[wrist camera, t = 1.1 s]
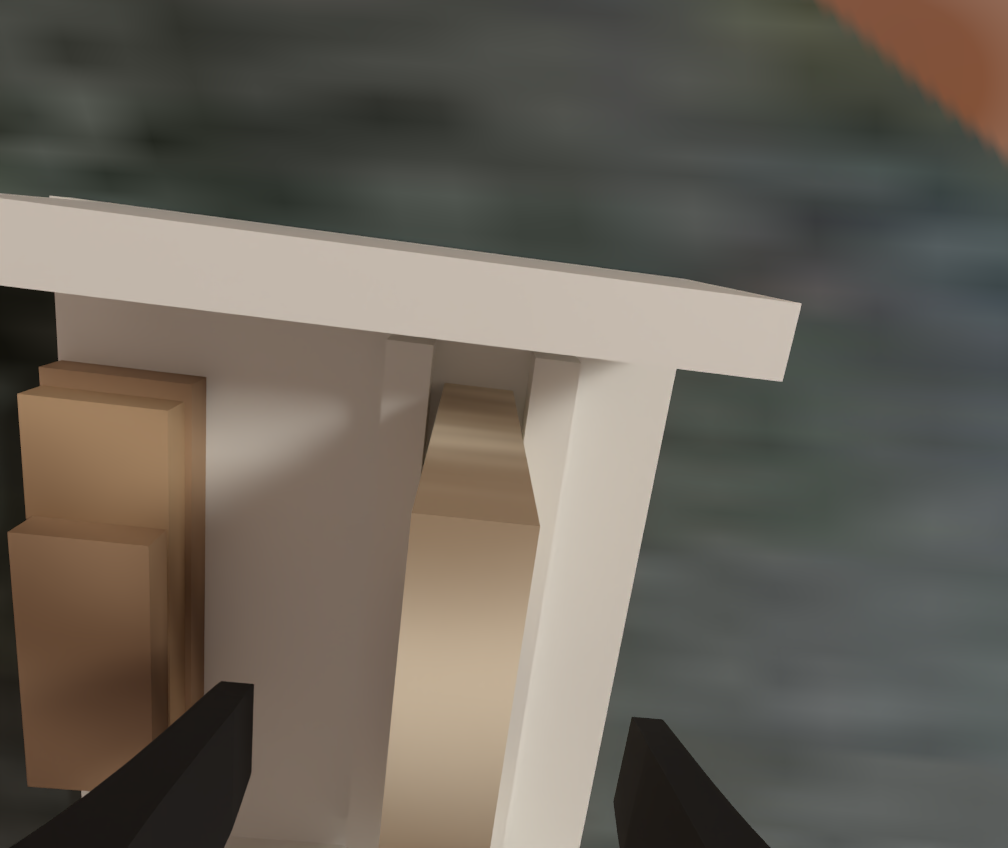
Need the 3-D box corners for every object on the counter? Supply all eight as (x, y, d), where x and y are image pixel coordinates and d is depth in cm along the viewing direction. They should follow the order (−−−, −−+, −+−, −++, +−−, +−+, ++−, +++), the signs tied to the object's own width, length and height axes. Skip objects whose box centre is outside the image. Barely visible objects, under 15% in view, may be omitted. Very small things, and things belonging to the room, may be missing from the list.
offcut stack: (203, 769, 18) (162, 847, 16) (82, 759, 18) (23, 837, 16) (206, 377, 15) (157, 402, 13) (61, 360, 15) (-16, 383, 13)
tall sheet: (457, 802, 19) (440, 1160, 11) (400, 798, 19) (348, 1156, 11) (512, 390, 15) (540, 526, 8) (444, 382, 15) (411, 512, 8)
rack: (566, 868, 20) (600, 1117, 15) (100, 834, 20) (-60, 1085, 14) (684, 278, 16) (802, 303, 10) (71, 197, 15) (-193, 172, 9)
